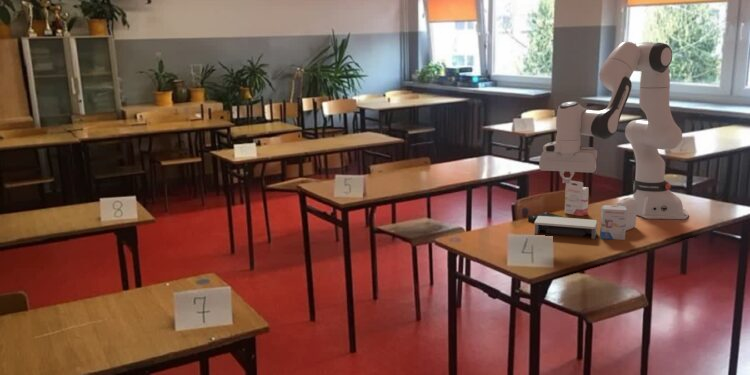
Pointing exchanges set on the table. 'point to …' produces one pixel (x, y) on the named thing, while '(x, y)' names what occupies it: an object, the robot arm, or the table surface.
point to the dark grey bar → (565, 231)
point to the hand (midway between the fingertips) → (566, 182)
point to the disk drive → (534, 217)
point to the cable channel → (588, 231)
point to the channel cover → (566, 222)
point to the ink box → (613, 222)
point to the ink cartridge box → (576, 199)
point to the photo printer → (629, 211)
